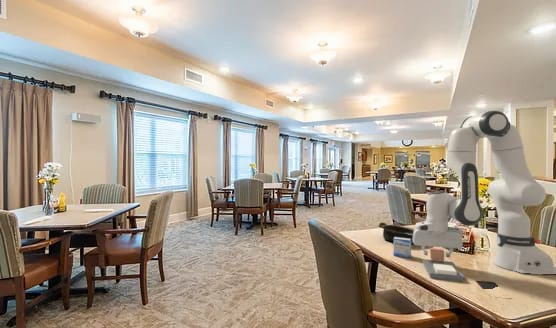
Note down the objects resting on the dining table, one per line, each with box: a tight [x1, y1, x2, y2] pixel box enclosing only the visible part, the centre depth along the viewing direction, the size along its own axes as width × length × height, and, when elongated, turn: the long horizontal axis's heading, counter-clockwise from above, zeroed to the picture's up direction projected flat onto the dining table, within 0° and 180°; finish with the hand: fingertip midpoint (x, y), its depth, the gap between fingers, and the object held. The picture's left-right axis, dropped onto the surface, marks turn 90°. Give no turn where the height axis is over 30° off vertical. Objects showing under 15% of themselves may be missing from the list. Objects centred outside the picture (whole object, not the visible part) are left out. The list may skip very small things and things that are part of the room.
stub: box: [429, 247, 445, 261], centre depth 131 cm, size 5×5×4 cm
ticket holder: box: [422, 258, 465, 282], centre depth 121 cm, size 12×17×4 cm
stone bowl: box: [377, 222, 416, 244], centre depth 169 cm, size 25×25×9 cm
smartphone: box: [475, 280, 499, 290], centre depth 105 cm, size 7×1×14 cm
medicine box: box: [392, 237, 412, 259], centre depth 142 cm, size 8×4×9 cm, turn 62°
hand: (436, 256), depth 131 cm, fingers open, 8 cm apart
